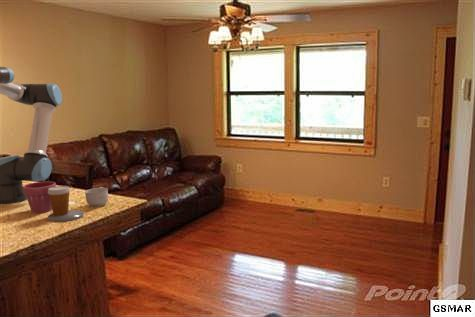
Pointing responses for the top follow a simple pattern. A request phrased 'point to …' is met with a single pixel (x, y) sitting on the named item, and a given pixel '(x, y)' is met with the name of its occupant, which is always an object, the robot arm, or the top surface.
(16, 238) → the top surface
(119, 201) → the top surface
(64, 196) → the disposable coffee cup
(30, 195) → the plant pot
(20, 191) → the robot arm
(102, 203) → the teacup
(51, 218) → the gray dome
